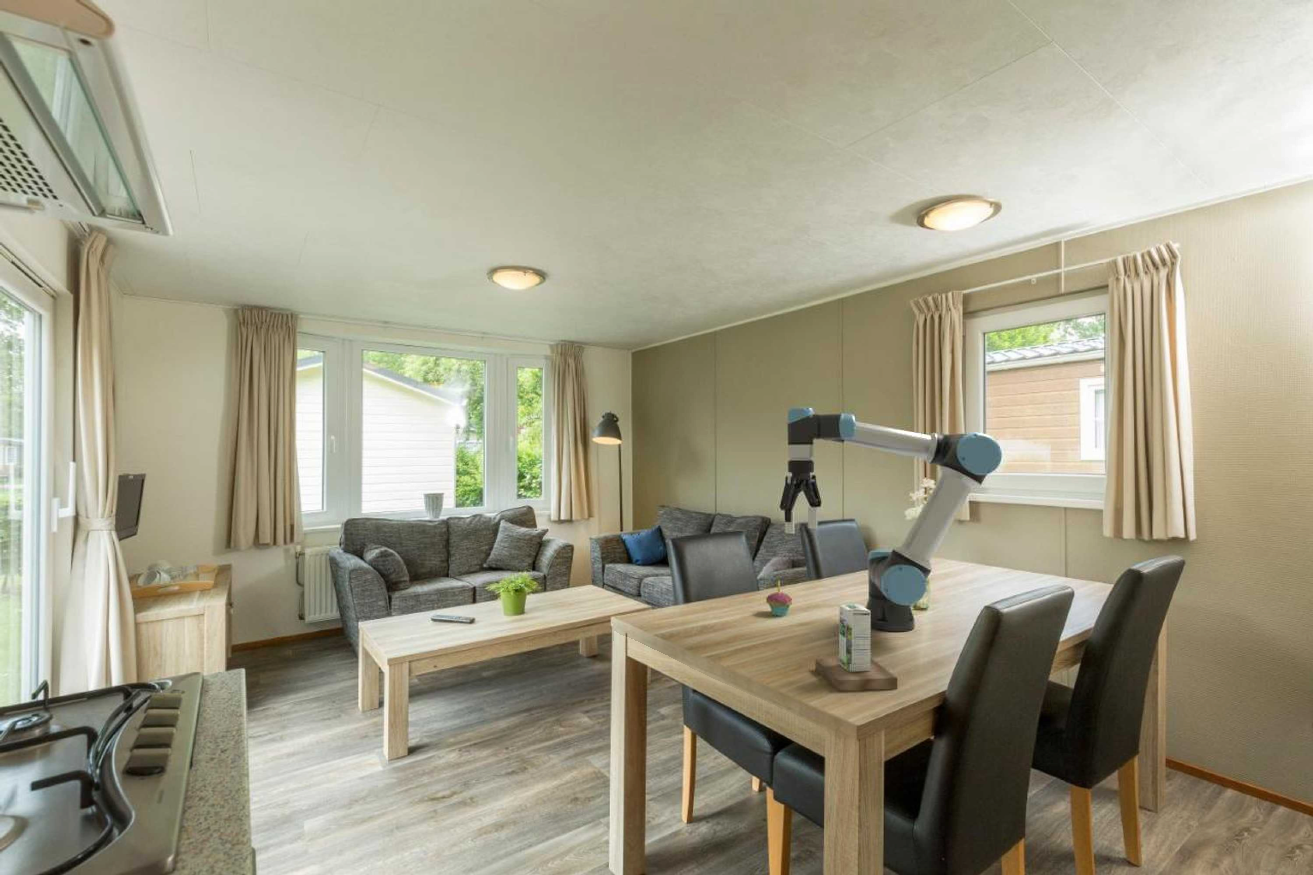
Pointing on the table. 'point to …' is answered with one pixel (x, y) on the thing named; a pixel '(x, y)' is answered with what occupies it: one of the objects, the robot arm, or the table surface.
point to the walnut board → (855, 676)
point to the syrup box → (854, 637)
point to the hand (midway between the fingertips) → (801, 530)
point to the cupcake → (779, 602)
